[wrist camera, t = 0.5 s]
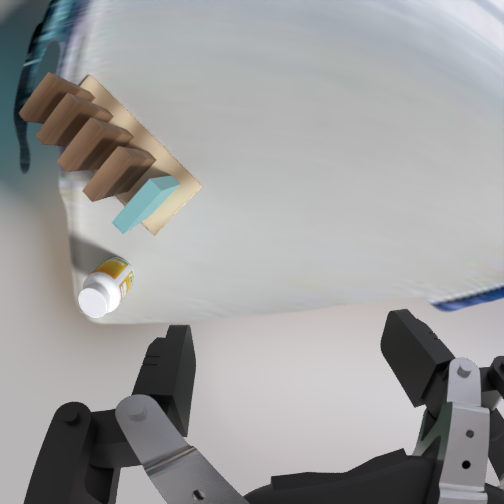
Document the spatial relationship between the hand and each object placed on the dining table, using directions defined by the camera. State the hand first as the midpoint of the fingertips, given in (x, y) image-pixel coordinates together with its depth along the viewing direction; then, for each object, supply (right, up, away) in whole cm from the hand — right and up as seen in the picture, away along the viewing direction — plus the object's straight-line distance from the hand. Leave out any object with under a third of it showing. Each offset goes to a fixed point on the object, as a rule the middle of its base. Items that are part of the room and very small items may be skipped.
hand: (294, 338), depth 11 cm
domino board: (-19, +17, +23) cm, 34 cm away
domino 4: (-16, +14, +23) cm, 31 cm away
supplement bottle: (-21, 0, +28) cm, 35 cm away
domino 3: (-19, +17, +22) cm, 34 cm away
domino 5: (-13, +11, +24) cm, 29 cm away
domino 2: (-22, +20, +21) cm, 36 cm away
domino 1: (-25, +23, +19) cm, 39 cm away
